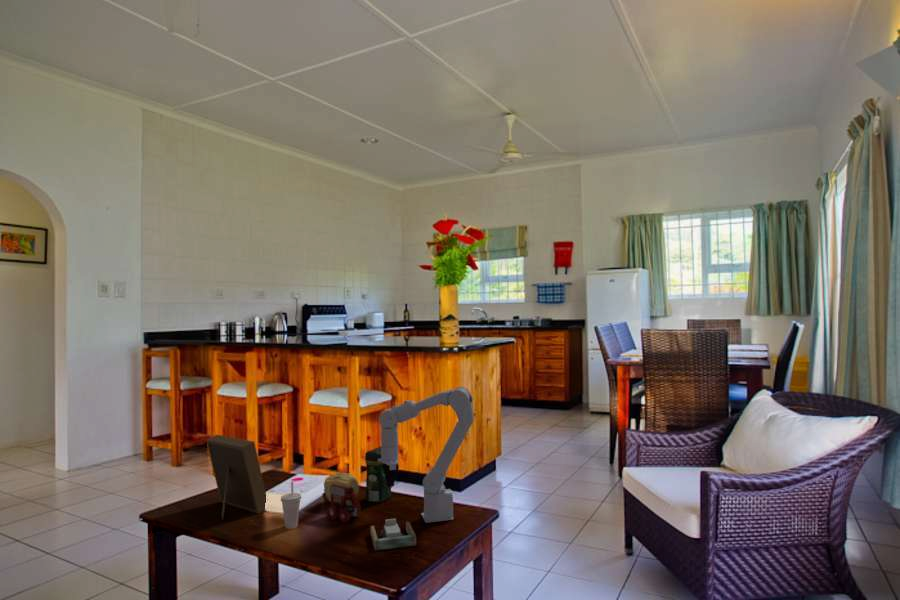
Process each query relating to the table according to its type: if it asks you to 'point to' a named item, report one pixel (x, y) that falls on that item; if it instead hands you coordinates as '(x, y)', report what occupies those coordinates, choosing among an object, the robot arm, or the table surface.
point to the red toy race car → (343, 503)
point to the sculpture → (340, 483)
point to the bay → (394, 539)
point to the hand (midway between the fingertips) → (390, 486)
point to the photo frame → (237, 473)
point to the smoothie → (291, 508)
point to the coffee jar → (375, 478)
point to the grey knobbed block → (391, 529)
